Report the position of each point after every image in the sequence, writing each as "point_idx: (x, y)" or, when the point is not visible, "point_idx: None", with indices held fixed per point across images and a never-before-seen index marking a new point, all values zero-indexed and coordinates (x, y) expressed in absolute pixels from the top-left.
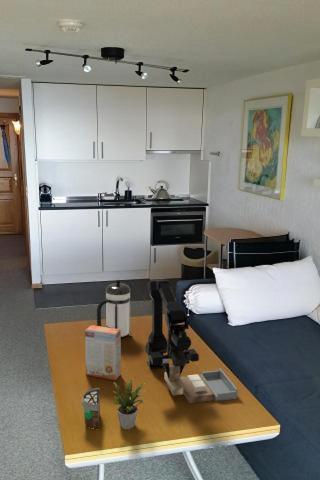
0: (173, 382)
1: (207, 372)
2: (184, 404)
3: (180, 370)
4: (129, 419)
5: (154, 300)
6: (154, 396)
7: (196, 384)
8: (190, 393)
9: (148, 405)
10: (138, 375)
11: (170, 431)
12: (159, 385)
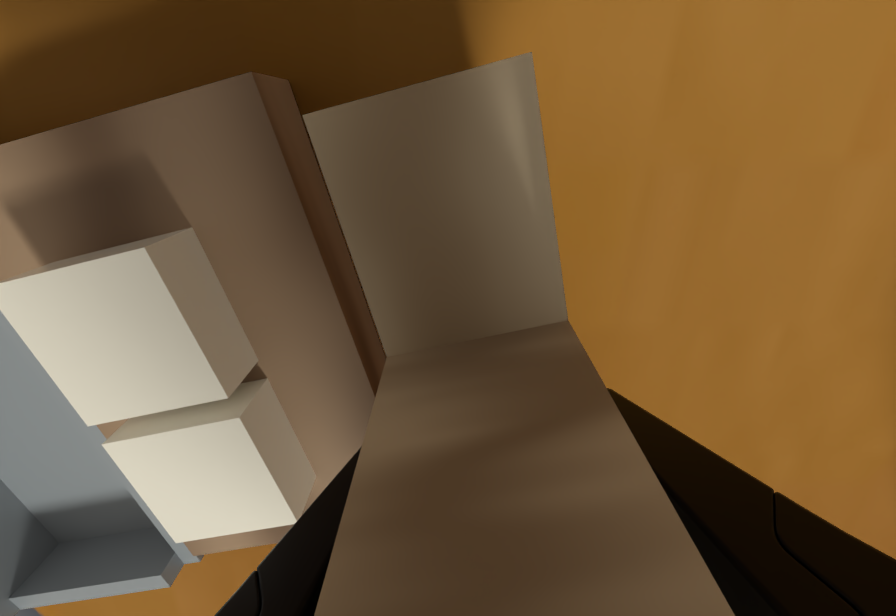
0: (502, 298)
1: (116, 581)
2: (347, 44)
3: (325, 544)
4: None
5: None
6: (696, 233)
7: (137, 328)
8: (245, 185)
9: (839, 4)
10: None
11: None
12: None
